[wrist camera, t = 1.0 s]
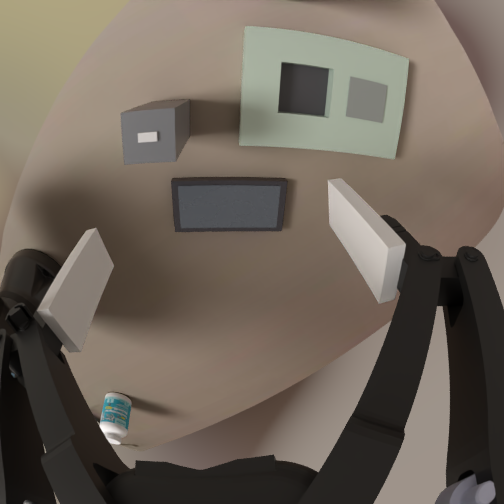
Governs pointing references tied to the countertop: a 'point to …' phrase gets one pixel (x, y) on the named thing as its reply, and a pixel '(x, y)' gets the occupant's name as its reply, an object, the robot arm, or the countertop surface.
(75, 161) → the countertop surface
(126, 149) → the brick
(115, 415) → the pill bottle
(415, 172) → the countertop surface
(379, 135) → the outlet plate
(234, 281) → the countertop surface
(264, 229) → the phone
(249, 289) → the countertop surface
